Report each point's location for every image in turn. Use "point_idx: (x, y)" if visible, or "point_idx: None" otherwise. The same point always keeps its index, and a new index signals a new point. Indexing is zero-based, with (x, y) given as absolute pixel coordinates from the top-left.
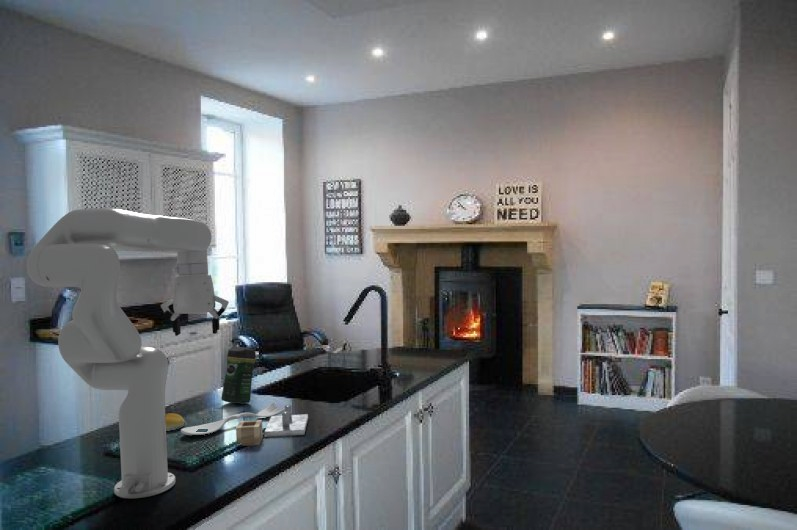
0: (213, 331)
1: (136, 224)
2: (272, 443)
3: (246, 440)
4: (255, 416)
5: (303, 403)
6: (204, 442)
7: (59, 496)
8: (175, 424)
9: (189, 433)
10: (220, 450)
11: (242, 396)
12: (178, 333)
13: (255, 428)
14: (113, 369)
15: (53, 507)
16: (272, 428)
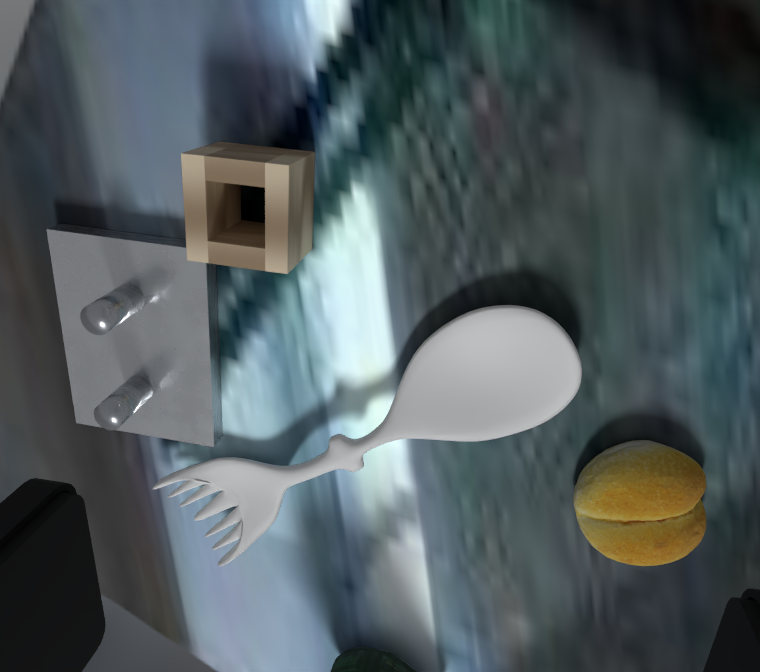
0: (35, 498)
1: None
2: (168, 147)
3: (264, 150)
4: (279, 465)
5: (142, 593)
6: (465, 247)
7: None
8: (613, 461)
9: (536, 312)
10: (379, 112)
11: (351, 669)
12: (729, 648)
13: (200, 154)
14: None
15: None
16: (179, 283)
